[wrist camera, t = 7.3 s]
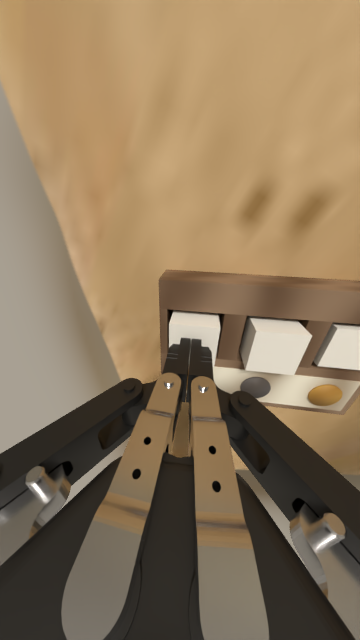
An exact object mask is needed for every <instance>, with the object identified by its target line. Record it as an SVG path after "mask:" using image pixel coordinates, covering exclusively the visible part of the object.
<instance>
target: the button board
mask: <svg viewBox="0 0 360 640" xmlns="http://www.w3.org/2000/svg"><path fill="white" fill-rule="evenodd" d="M159 306H160V341H161V375H162V372H163V369H164V365H165V361H166V358H167V354H168V350H169V322H170V319H171V317H172V314H173V311H174V310H183V311H196V312H209V313H218V316H219V322H220V334H219V340H218V346H217V353H216V359H215V365H214V367H213V378H214V382H215V384H216V385H217V387H218V388H220V389H221V390H223V391H225V392H228V393H230V394H232V393H233V392H235V391H245V392H248V393H249V394H251V395H252V396H254V397H255V398H256V399H257V400H258V401H259V402H260V403H261V404H262V405H265V406H273V407H281V408H290V409H298V410H306V411H315V412H323V413H331V414H340V415H344V414H345V412H346V411H347V410H348V408H349V407H350V406H351V405H352V403H353V402H354V401H355V399H356V398H357V397H358V395H359V394H360V370H352V369H342V368H332V367H322V366H317V365H316V364H315V363H314V361H313V360H314V358H315V356H316V354H317V352H318V350H319V348H320V346H321V344H322V342H323V340H324V339H325V337H326V335H327V333H328V331H329V329H330V327H331V325H332V323H333V322H338V323H351V324H360V281H350V280H333V279H316V278H299V277H282V276H264V275H247V274H230V273H213V272H196V271H178V270H166V271H165V272H164V273H163V275H162V276H161V277H160V279H159ZM248 316H261V317H274V318H286V319H297V321H298V322H299V323H300V324H301V325H302V326H303V327H304V328H305V329H306V330H307V331H308V332H309V333H310V334H311V335H312V338H311V340H310V342H309V344H308V346H307V348H306V351H305V353H304V355H303V357H302V359H301V361H300V363H299V366H298V368H297V370H296V372H295V374H294V375H286V374H276V373H266V372H257V371H247V370H245V368H244V364H243V361H242V357H241V353H240V346H241V342H242V338H243V334H244V330H245V326H246V322H247V317H248ZM188 372H189V367H188ZM187 384H188V377H187ZM186 396H187V387H186Z"/></svg>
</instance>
